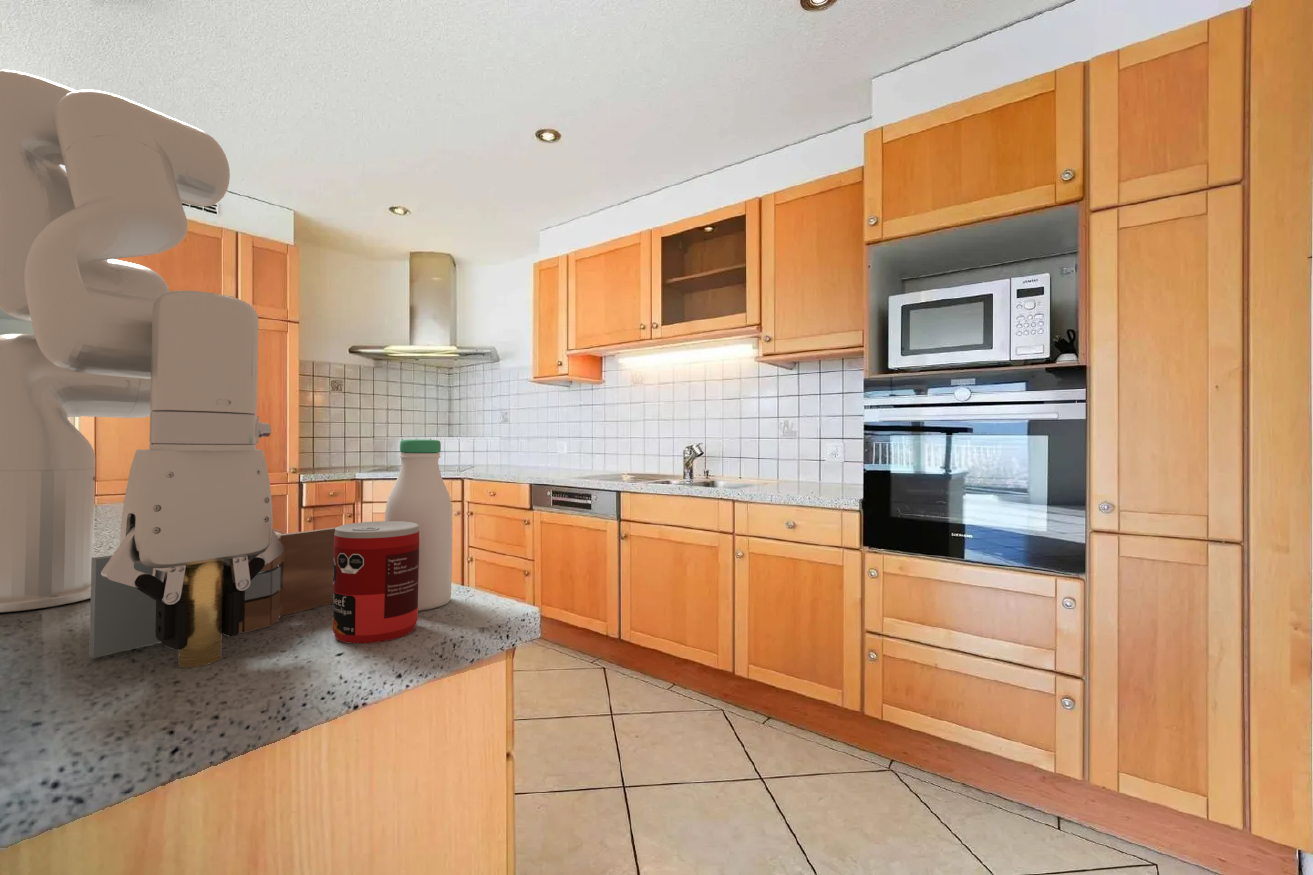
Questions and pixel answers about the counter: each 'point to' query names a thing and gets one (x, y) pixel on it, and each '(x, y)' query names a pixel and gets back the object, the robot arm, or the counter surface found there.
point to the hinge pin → (203, 613)
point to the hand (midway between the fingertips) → (200, 637)
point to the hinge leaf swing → (140, 609)
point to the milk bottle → (425, 517)
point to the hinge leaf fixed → (295, 579)
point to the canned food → (375, 581)
